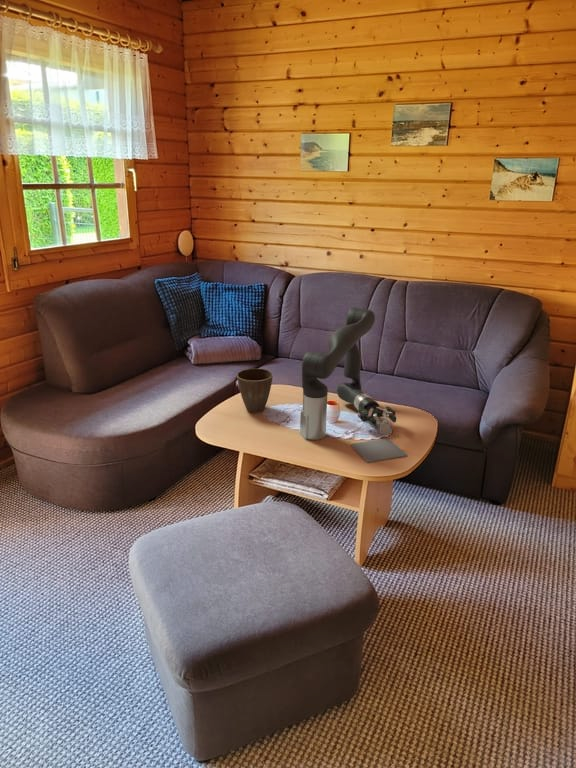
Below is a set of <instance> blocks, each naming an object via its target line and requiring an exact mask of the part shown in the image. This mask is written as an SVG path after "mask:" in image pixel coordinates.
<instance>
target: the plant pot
mask: <svg viewBox="0 0 576 768" xmlns="http://www.w3.org/2000/svg"><path fill="white" fill-rule="evenodd" d="M273 376H274V373H273V372H272V371H270V370H268V369H265V368H254V367H253V368H247V369H242V370H240V371H238V373H236V378H237V379H236V380H237V384H238V388H239V391H240V395H241V398H242V402H243V404H244V406H245V407H244V408H245V409H246V411H247V412H248V413H254V414H258V413H261V412H263V411H265V408H266V406H267V402H268V399H269V397H270V393H271V388H272V383H273Z"/></svg>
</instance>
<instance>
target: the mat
mask: <svg viewBox="0 0 576 768" xmlns="http://www.w3.org/2000/svg"><path fill="white" fill-rule="evenodd" d="M349 445H350V446H351V448H352V449H353V450H354V451H355V452H356V453H357V454H358V455H359V456H360V457H361V458H362V459H363V460H364V461H365V462H366V463H367V464H369V463H374V462H381V461H387V460H393V459H399V457H400V458H404V457H405V456H406V457H408V454H407V453H406V452H405V451H404V450H402V449H401V448H400V447H399V446H398V445H397V443H394V442H393V440H391V439H390V438H388V437H387V438H382V439H375V440H369V441H368V440H367V441H362V442H354V443H350V444H349ZM406 457H405V458H406Z"/></svg>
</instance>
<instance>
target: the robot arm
mask: <svg viewBox="0 0 576 768" xmlns="http://www.w3.org/2000/svg"><path fill="white" fill-rule="evenodd" d="M375 315H376V314H375V312H373V310H370V309H366V308H359V307H351V308H349V310H348V311H347V314H346V322H345V325H344V326H341V327H339V328H337V329H336V330H335V331H334V332H333V333H332V334H331V335H330V337H329V338H328V340H327V341H328V342H327V343H328V344H327V346H328V347H327V348H328V351H329V353H322V352H316V351H306V353H304V355H303V358H302V361H301V380H302V381H301V383H302V384H301V387H302V410H300V419H299V421H300V424H299V425H300V426H299V428H300V429H299V434H300V435H301V436H302V437H303V439H305V440H310V441H319V440H322V439H324V438H325V437H326V435H327V434H326V433H327V415H328V414H327V413H328V411H327V410H328V393H329V392H328V391H329V390H328V389H329V388H328V386H327V385H326V384H324V383H323V382H322V381H320V380H326V379H328V378H329V377H330V376H331V375H332V374H333V372H334V371H335V369H336V368H337V366H338V364H339V363H340V362H341V360H342V359H343V358H344V357H345V360H344V366H343V367H344V369H343V376H344V377H345V378H348V379H351V382H342V383H340V384H339V385H338V386H337V387H336V393H337V396H338V397H339V398H340V400H342V401H344V402H346V403H348V404H351V405H352V406H353V407H354V408H355V409H356V410H357V417H358V418H359V419H360V420H361V421H362V422H368V423H370V424H371V425H373V426H376V425H377V423H376V419H374V416H373V414H377V416H378V418H381V419H389V420H390V421H391V422H393V423H396V421H397V416H396V410H394V409H393V408H391V407H390V406H388V405H387V406H385V408H383V407H381V405H380V404H379V403H378V402H377V401H376V400H375V399H374V398H373V397H371V396H370V395H368V394H366V393H365V392H363V391H362V386H361V384H362V383H361V368H362V355H361V352H360V349H359V347H358V345H357V342H358V341H359V340H360V339H361V338H362V337H363V336H364V335H366V334H367V333H368V332H369V331H370V330H371V329H372V328H373V326H374V324H375V321H376V316H375Z"/></svg>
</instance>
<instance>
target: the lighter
mask: <svg viewBox="0 0 576 768" xmlns="http://www.w3.org/2000/svg"><path fill="white" fill-rule="evenodd" d="M373 416H374V419H376V425H379V429H378V430H379V432H378V433H379V434H380V435H391V429H392V423H391V422H392V421H391V422H390V421H389V420H388V419H387V420H386V419H383V420H382V421H380V417H378V416H377V414H373Z"/></svg>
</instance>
